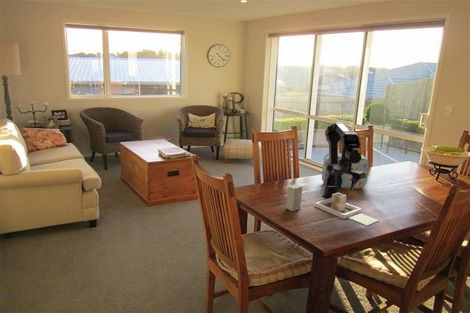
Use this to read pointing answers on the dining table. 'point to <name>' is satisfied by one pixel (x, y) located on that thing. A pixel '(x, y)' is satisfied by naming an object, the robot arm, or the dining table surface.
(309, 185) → the dining table surface
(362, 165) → the lunch box
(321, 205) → the white rectangular frame
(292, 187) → the skincare box
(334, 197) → the birch parts box
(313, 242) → the dining table surface
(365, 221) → the sage pad
